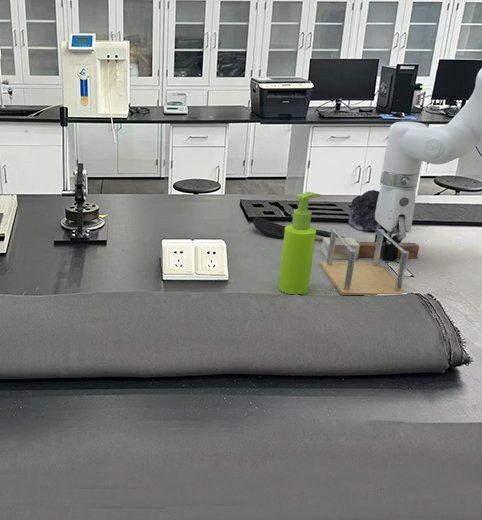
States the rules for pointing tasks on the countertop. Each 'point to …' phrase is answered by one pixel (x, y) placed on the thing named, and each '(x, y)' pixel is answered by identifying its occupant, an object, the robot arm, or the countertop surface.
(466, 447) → the countertop surface
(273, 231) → the hairbrush
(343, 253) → the cleaning brush
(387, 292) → the wire rack
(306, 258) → the soap dispenser
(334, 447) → the countertop surface
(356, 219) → the crystal cluster
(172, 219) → the countertop surface
